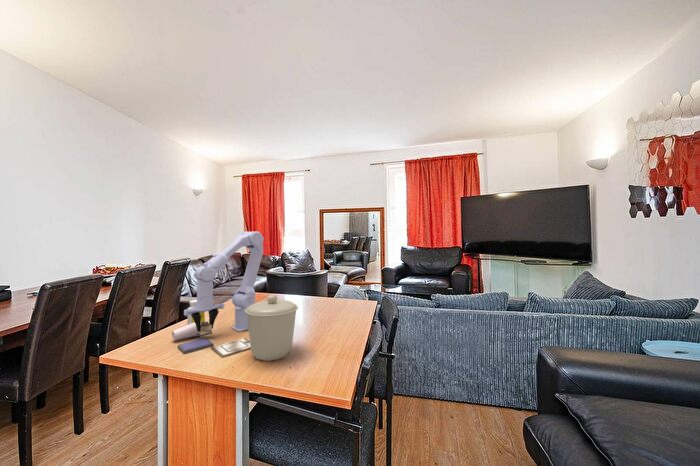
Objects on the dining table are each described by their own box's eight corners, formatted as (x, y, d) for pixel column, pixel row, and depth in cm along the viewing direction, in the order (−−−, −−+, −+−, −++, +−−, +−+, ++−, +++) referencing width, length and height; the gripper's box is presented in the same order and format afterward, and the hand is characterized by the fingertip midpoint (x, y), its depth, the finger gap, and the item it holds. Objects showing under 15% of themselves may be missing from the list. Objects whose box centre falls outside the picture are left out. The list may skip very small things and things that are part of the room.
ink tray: (206, 340, 109) (206, 337, 109) (213, 346, 104) (213, 343, 104) (177, 347, 102) (177, 344, 102) (183, 354, 97) (183, 351, 97)
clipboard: (246, 338, 111) (246, 336, 111) (259, 346, 104) (259, 344, 104) (210, 348, 102) (210, 346, 102) (222, 357, 94) (222, 355, 94)
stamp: (208, 331, 114) (208, 320, 114) (212, 333, 111) (212, 322, 111) (197, 334, 111) (197, 322, 111) (200, 336, 108) (200, 325, 108)
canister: (232, 362, 90) (233, 298, 91) (263, 342, 108) (264, 288, 108) (281, 369, 86) (282, 302, 86) (306, 347, 103) (306, 291, 103)
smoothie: (177, 343, 105) (214, 331, 115) (174, 326, 106) (211, 316, 117) (172, 344, 109) (208, 332, 119) (169, 328, 110) (206, 318, 121)
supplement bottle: (208, 327, 123) (207, 299, 123) (195, 333, 117) (194, 303, 117) (197, 326, 126) (196, 298, 126) (184, 331, 120) (183, 302, 119)
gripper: (219, 291, 119) (219, 322, 119) (181, 297, 108) (181, 331, 108) (226, 294, 114) (226, 326, 114) (187, 300, 104) (187, 336, 104)
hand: (205, 329), depth 111 cm, fingers closed on stamp, 4 cm apart
